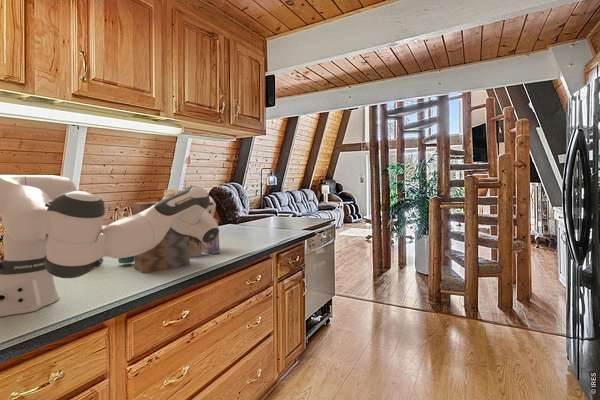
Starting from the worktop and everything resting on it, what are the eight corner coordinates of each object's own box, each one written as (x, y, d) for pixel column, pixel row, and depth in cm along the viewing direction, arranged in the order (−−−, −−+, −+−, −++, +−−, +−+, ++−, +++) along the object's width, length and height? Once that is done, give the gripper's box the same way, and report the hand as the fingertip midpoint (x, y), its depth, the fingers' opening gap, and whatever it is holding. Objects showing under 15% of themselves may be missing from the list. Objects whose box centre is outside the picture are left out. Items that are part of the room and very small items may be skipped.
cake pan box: (191, 249, 181) (191, 217, 180) (199, 248, 185) (199, 216, 184) (211, 255, 169) (211, 220, 168) (220, 253, 172) (219, 219, 171)
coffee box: (200, 253, 171) (199, 222, 170) (202, 256, 165) (201, 224, 164) (181, 255, 168) (180, 223, 167) (182, 258, 162) (181, 225, 161)
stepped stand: (142, 273, 136) (140, 203, 134) (134, 268, 143) (132, 202, 142) (189, 264, 149) (188, 201, 148) (180, 260, 157) (179, 200, 155)
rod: (182, 198, 137) (182, 190, 137) (164, 196, 152) (163, 189, 152) (189, 198, 139) (189, 190, 139) (170, 196, 154) (170, 189, 154)
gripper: (166, 220, 127) (155, 200, 135) (216, 216, 141) (202, 198, 149) (169, 206, 124) (157, 187, 133) (219, 203, 138) (205, 186, 146)
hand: (181, 193), depth 141 cm, fingers closed on rod, 3 cm apart
